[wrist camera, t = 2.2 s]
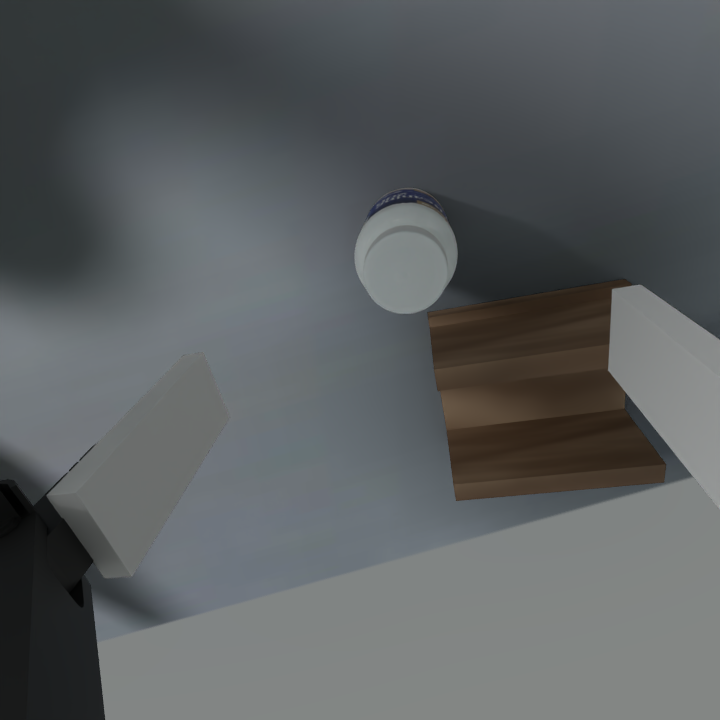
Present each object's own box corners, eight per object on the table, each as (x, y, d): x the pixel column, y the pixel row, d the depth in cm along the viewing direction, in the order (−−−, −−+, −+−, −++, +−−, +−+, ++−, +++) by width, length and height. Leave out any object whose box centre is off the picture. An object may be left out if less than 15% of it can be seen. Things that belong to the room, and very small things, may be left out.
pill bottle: (456, 193, 28) (478, 224, 19) (438, 275, 30) (449, 335, 22) (371, 179, 28) (354, 205, 19) (360, 262, 30) (341, 318, 22)
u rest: (427, 312, 32) (432, 358, 25) (625, 278, 29) (682, 320, 23) (449, 444, 37) (457, 508, 31) (617, 425, 34) (663, 491, 28)
